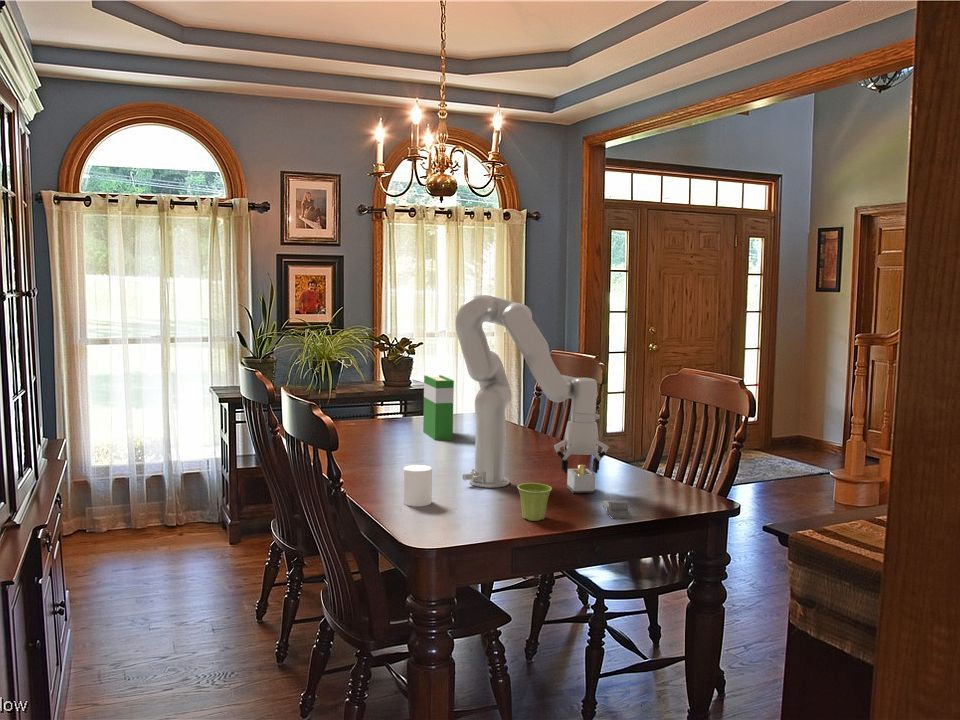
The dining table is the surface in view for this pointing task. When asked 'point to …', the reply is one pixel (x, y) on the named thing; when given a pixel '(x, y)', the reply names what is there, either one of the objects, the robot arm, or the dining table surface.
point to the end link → (581, 480)
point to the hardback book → (438, 407)
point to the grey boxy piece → (618, 509)
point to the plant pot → (534, 500)
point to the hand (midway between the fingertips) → (579, 472)
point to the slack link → (605, 504)
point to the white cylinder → (417, 485)
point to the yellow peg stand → (580, 471)
